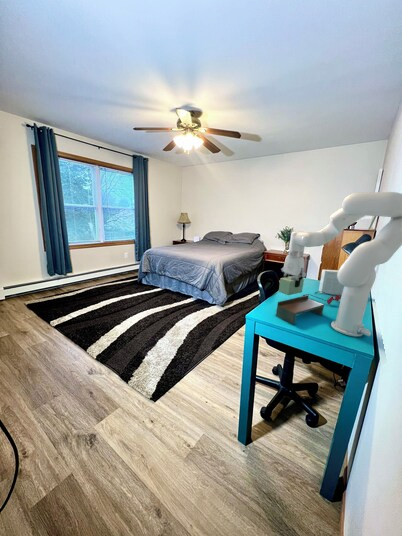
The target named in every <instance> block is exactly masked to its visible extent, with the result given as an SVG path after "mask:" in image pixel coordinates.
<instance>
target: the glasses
mask: <svg viewBox="0 0 402 536" xmlns="http://www.w3.org/2000/svg"><path fill="white" fill-rule="evenodd" d="M314 292H315V291H314ZM320 292H322V291H319V290H318V291H316V292H315V294H318V293H320ZM323 293H325V292H323ZM306 295H309V296H311V297H314V298H317V299H318V300H319V299H320V300H322V301H325V302H326V303H327V304H328V305H331V303H332V302H333V301H335V302H340V300H341V295H334V294H328V293H326V294H325V295H329V297H328V298H327V299H324V298H322V297H321V298H320V297H318V296H316V295H313V294H310V293H307V294H303V295H302V296H306Z"/></svg>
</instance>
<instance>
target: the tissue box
mask: <svg viewBox="0 0 402 536" xmlns="http://www.w3.org/2000/svg"><path fill="white" fill-rule="evenodd" d="M296 280H297V279H296V276H295V275H289V277H286V278H284V277H281V278H280V279H279V286H278V292H279V293H280V294H282V295H283V294H284V295H286V296H291V295H297V294H302V293H303V289H304V281H305V278H303V279H302V280H300V286H299V287H295V281H296Z"/></svg>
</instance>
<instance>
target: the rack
mask: <svg viewBox="0 0 402 536" xmlns="http://www.w3.org/2000/svg"><path fill="white" fill-rule="evenodd" d="M309 296H310V295H306V294H305V296H303V295H302V296H298V297H293V298H288V299H284V300H280V301H277V306H276V312H275V316H276V317H277V318H279V319H281V320H283V321H285V322H287V323H288V324H290V325H295V323H296V317H297V315H301V314H303V313H307V312H312V313H314V314H317V315H319V316H323V313H324V308H325V304H324V303H321V302H319V301H317V300H314V299H311V298H309Z"/></svg>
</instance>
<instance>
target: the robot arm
mask: <svg viewBox="0 0 402 536" xmlns="http://www.w3.org/2000/svg"><path fill="white" fill-rule="evenodd" d="M365 216H370V217H384V218H385V217H386V218H390V219H389V220H388V222H387V223H386V224H385V225H384V226H383V227H382V228H381V229H380V231H379V232H377V233H378V234H377V235H376V236H374V238H373V239H372V240H369V241H365V242H362V243H360V244H359V245H357V246H356V247H355V248H353V250H352V251H351V253H350V254H349V255H348V257H346V259H345V261H344V262H343V264H341V265H340V267H339V269H338V274H337V278H338V281H339V282H340V283H341V284H342V285H343V286H344V289H343V292H342V295H340V298H341V299H340V300H339V306H338V309H337V313H336V319H335V320H333V321H331V324H330V326H331V328H332V329H333V330H335V331H336V332H338V333H340V334H343V335H346V336H350V337H355V338H357V337H362V336H366V337H370V336H371V335H372V332H371V329H368V328H366V327H365V324H364V323H363V319H364V315H365V312H366V308H367V304H368V301H369V297H370V294H371V291H372V288H373V286H374V284H375V282H376V278H377V272H376V270H375V268H376V267H377V266H380V265H383V264H385V263H387V262H388V261H390V260H391V258H392V257H393V256H394V254H395V253H396V252H398V250H399V249H400V248H401V247H402V193H400V192H396V191H377V192H376V191H375V192H374V191H373V192H372V191H371V192H365V191H364V192H361V191H360V192H357V191H356V192H353V193H350V194H349V195H347V196H346V197H344V199H343V200H342V202H341V207H340V208H339V209H338V210H336V211H335V212H333V213H332V214H330V216H329V223H328V224H327V225H325V226H324V227H323V228H322V229H320V230H318V231H301V230H294V231H292V232H291V233H290V239H289V247H288V250H287V251H286V252H287V254H288V255H287V254H286V257H285V260H284V263H283V267H282V268H280V270H281V272H282V275H283V278H286V277H289V276H296V279H297V280H296V281H295V287H299V286H300V280H302V279H305V278H306V277H307V276H308V275H307V273H306V272H305V270H304V269H305V257H304V253H305V248H313V247H321V246H323V245H326V244H328V243H329V242H331V241H333V240H334V239H335V238H336V237H338V236H339V235H340V234H341V233H342V232H343V231H344V230H345V229H347V228H348V227H350V226H351V225H353V224H354V223H356V222H357V221H359V220H361V219H362V218H365Z"/></svg>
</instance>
